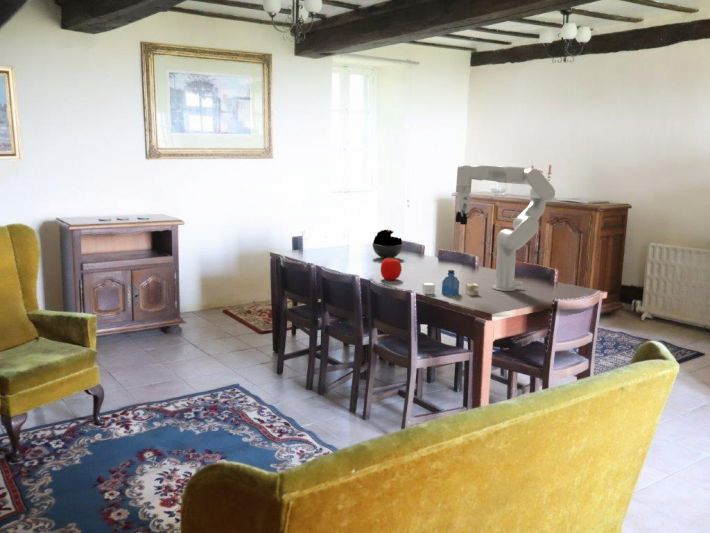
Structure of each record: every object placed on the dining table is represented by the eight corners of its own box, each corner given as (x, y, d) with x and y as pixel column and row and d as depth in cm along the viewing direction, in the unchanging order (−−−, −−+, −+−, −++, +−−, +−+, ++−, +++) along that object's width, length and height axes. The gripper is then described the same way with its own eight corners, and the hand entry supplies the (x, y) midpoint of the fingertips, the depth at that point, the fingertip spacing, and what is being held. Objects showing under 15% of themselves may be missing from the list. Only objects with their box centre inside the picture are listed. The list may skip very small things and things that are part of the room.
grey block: (432, 292, 327) (432, 282, 326) (434, 294, 322) (434, 285, 321) (422, 292, 326) (423, 282, 325) (424, 294, 321) (425, 285, 320)
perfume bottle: (448, 291, 329) (449, 268, 326) (458, 293, 325) (459, 270, 322) (441, 293, 324) (442, 270, 322) (452, 295, 320) (453, 272, 318)
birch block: (475, 292, 327) (475, 283, 326) (478, 295, 322) (478, 285, 321) (465, 293, 327) (466, 283, 326) (468, 295, 322) (468, 285, 321)
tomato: (383, 276, 362) (384, 254, 360) (403, 278, 358) (404, 256, 356) (377, 281, 351) (377, 258, 348) (397, 282, 347) (398, 260, 344)
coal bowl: (389, 255, 433) (390, 227, 429) (408, 259, 417) (409, 231, 413) (366, 257, 421) (366, 229, 418) (384, 262, 405) (385, 233, 402)
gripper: (475, 191, 315) (472, 225, 318) (466, 188, 332) (463, 221, 335) (460, 190, 314) (458, 225, 318) (452, 188, 331) (449, 221, 335)
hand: (461, 223), depth 326 cm, fingers open, 9 cm apart
